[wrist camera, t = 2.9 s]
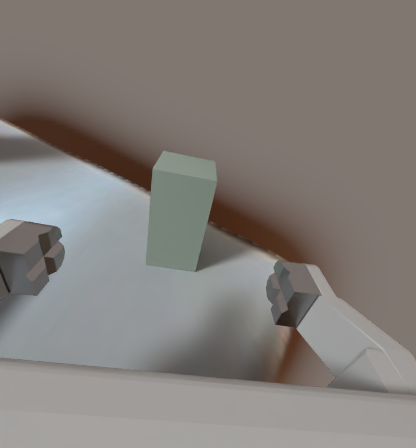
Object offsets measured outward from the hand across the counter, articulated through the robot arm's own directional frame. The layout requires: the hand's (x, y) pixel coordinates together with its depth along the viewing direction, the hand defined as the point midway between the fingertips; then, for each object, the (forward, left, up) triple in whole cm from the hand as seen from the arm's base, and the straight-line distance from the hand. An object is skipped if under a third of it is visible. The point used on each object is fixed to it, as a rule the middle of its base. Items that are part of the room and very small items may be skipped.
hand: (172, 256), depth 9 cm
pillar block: (0, +12, -11) cm, 16 cm away
